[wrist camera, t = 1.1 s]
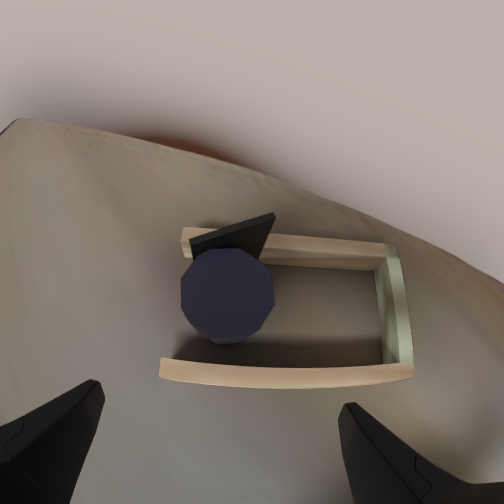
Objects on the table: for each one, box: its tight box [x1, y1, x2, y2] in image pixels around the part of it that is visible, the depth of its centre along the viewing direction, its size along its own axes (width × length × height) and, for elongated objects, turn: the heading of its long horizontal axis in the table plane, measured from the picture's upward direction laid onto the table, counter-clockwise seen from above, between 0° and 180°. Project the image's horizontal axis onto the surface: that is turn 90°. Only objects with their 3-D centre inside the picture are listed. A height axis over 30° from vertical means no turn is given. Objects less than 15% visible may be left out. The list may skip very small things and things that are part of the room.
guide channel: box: [159, 227, 414, 389], centre depth 23 cm, size 13×20×3 cm, turn 87°
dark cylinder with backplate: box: [181, 212, 276, 344], centre depth 20 cm, size 8×6×10 cm
